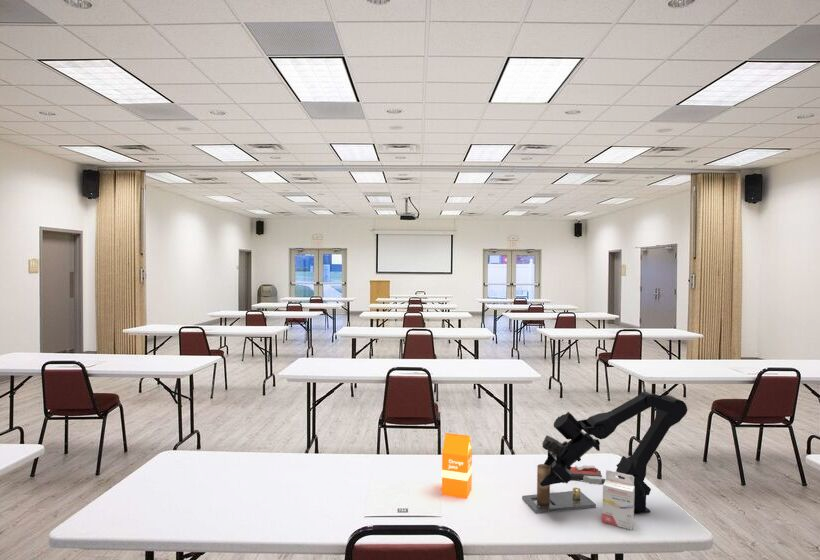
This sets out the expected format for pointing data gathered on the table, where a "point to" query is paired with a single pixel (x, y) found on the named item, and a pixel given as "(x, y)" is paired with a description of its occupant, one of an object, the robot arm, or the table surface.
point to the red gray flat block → (586, 474)
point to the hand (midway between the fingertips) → (540, 478)
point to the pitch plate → (561, 501)
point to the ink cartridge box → (618, 500)
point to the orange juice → (457, 466)
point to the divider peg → (542, 491)
